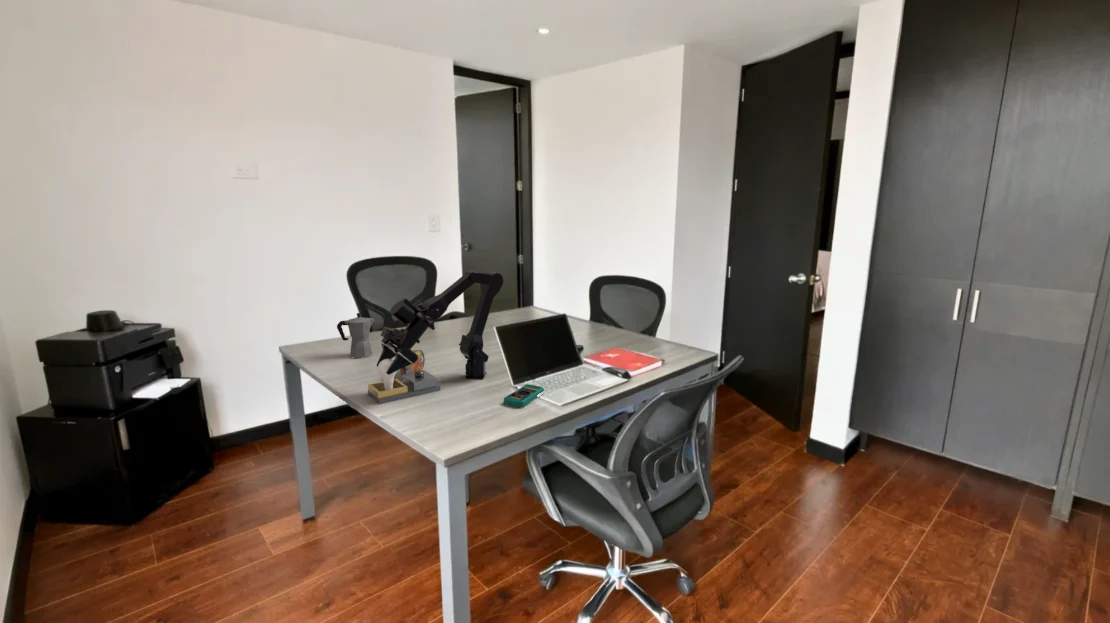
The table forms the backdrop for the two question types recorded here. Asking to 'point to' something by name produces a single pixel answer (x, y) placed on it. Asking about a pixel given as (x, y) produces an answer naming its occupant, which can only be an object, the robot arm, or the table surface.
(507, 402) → the digital multimeter
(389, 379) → the lightbulb
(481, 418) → the table surface
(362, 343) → the coffeepot
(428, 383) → the grey base with tray
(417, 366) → the tin
